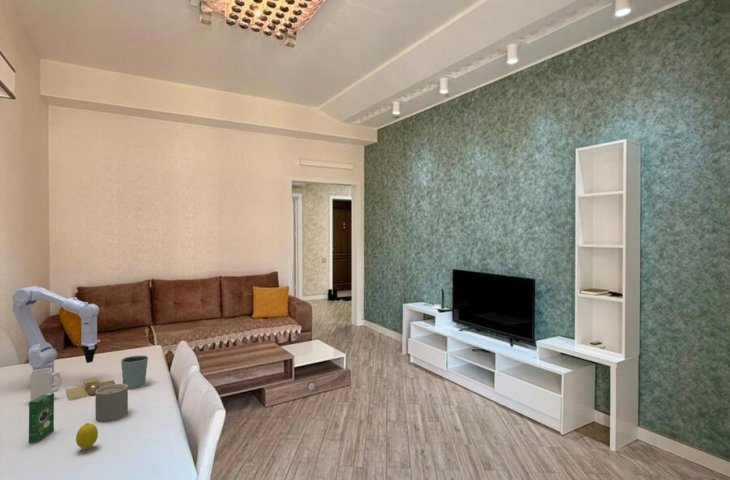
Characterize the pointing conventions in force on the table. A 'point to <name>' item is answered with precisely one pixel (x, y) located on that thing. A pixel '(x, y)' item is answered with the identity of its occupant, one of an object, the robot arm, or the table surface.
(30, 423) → the coffee box
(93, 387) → the bronze leaf with pin
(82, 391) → the brass leaf
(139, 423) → the table surface
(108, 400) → the coffee mug
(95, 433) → the lemon
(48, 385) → the mug
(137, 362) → the teal cup
